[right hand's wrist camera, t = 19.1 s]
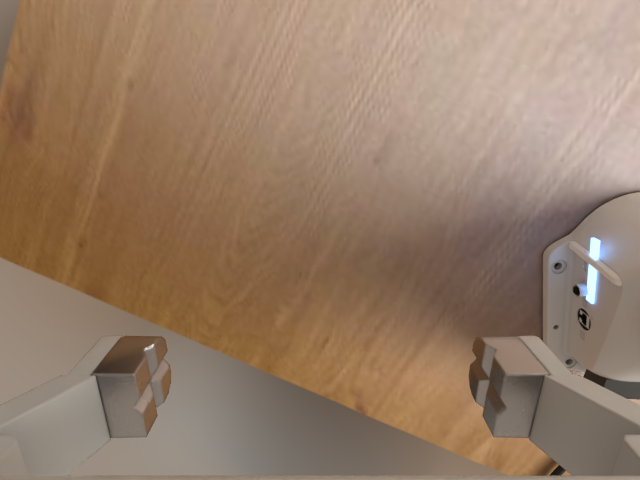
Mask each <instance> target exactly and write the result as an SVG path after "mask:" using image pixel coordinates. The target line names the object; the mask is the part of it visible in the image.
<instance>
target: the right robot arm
mask: <svg viewBox="0 0 640 480" xmlns="http://www.w3.org/2000/svg"><path fill="white" fill-rule="evenodd" d="M556 263H558V265H557V266H556V267H554V265H555V264H556ZM472 351H473V352H474V354H475V356H476V360H475V361H474V362H473V363H472V364H471V365H470V370H469V383H470V389H471V392H472V395H473V397H474V399H475V402H476V403H478V404H479V405H481V406H482V407H483V408H484V410H483V417H484V419H485V421H486V423H487V425H488V427H489V429H490V431H491V433H492V435H493V437H508V438H530V439H529V440H530V441H531V442H533V443H534V444H535V445H536V446H537V447H539V448H540V449H541V450H542V451H543V452H545V453H546V454H547V455H548V456H549V457H551V458H552V459H553V460H554V461H555V462H557V463H558V464H559V466H558V467H557V468H556V469H555V470H554V471H553V472H552V473H551V475H550V476H68V475H69V474H70V473H72V472H73V471H74V470H75V469H76V468H78V467H79V466H80V465H81V464H82V463H84V462H85V461H86V460H87V459H88V458H90V457H91V456H92V455H93V454H94V453H95V452H97V451H98V450H99V449H100V448H102V447H103V446H104V445H105V444H106V443H108V442H109V441H110V440H111V439H110V438H132V437H147V435H148V433H149V431H150V429H151V427H152V425H153V423H154V421H155V419H156V417H157V410H156V408H157V407H158V406H159V405H161V404H162V403H164V401H165V399H166V397H167V395H168V393H169V388H170V384H171V370H170V365H169V364H168V363H167V362H166V361H165V360H164V356H165V354H166V352H167V345H166V340H165V339H164V338H163V337H156V336H104V337H101V338H100V339H99V340H98V341H97V343H96V344H95V345H94V346H93V347H92V348H91V349H90V350H89V351H88V352H87V354H86V355H85V356H84V357H83V358H82V359H81V360H80V361H79V362H78V364H77V365H76V366H75V367H74V368H73V369H72V370H71V371H70V372H69V373H68V375H61V376H58V377H56V378H54V379H52V380H50V381H48V382H46V383H44V384H42V385H40V386H38V387H36V388H34V389H32V390H30V391H28V392H26V393H24V394H22V395H20V396H18V397H16V398H14V399H12V400H10V401H8V402H6V403H4V404H2V405H0V480H640V405H638V404H636V403H634V402H632V401H630V400H628V399H640V192H636V193H631V194H627V195H624V196H621V197H618V198H615V199H613V200H611V201H609V202H607V203H605V204H604V205H602V206H600V207H599V208H597V209H596V210H595V211H593V212H592V213H591V214H590V215H588V216H587V217H586V218H585V219H584V220H583V221H582V222H581V223H580V224H579V225H578V226H577V228H576V229H575V230H573V231H572V232H571V233H570V234H569V235H567V236H565V237H563V238H561V239H560V240H558V241H556V242H554V243H553V244H551V245H550V246H548V247H547V248H546V250H545V251H544V253H543V341H542V340H541V339H540V338H539V337H537V336H514V337H476V339H475V341H474V345H473V350H472ZM566 360H567V361H566ZM569 370H573V371H579V372H585V374H584V377H582V376H580V375H572V373H571V372H570V371H569ZM565 471H567V472H568V473H570V474H571V475H572V476H561V475H562V474H563V473H564V472H565Z"/></svg>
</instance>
